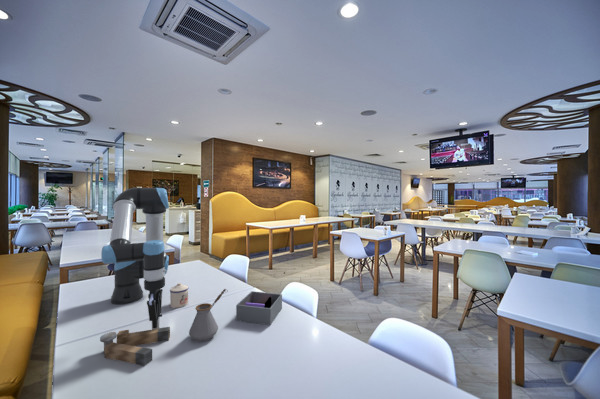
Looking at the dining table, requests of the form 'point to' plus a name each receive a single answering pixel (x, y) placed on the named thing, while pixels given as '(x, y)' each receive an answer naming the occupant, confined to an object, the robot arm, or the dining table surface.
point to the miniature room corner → (266, 305)
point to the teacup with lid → (179, 296)
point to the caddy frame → (259, 308)
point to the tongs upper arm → (138, 336)
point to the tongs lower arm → (127, 353)
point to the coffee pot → (204, 322)
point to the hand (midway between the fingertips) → (156, 333)
